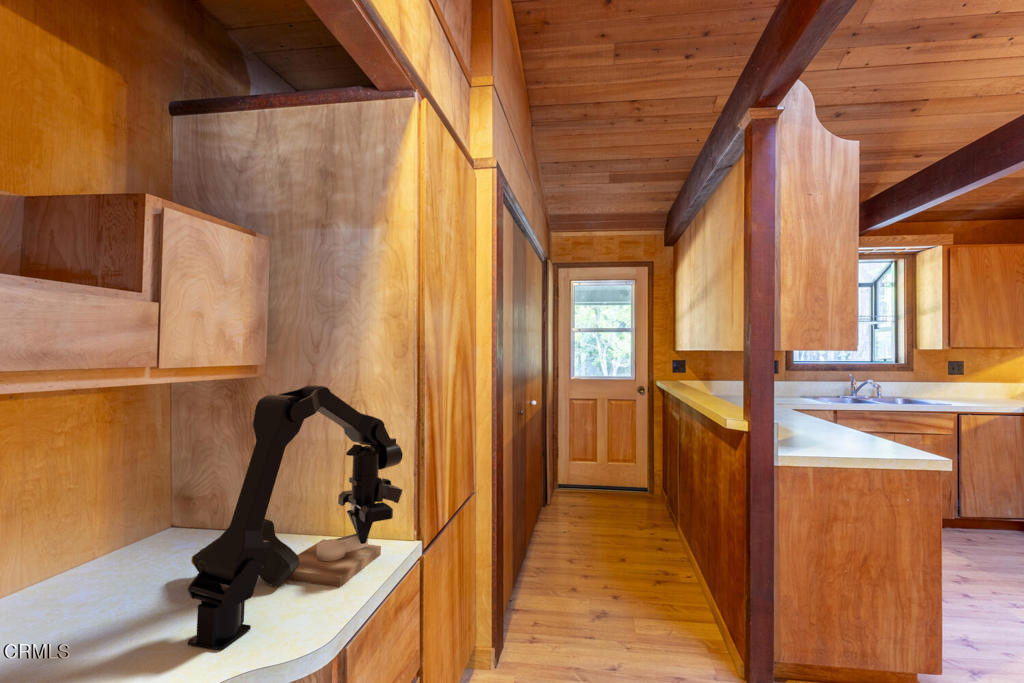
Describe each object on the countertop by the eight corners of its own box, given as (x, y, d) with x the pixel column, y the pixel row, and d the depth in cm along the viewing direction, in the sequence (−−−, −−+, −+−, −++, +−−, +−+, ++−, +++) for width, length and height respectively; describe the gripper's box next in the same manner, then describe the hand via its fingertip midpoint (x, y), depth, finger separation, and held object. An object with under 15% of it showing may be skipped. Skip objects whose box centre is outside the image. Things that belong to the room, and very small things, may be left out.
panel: (340, 587, 98) (341, 576, 98) (274, 578, 101) (274, 568, 101) (381, 554, 115) (381, 545, 115) (323, 547, 118) (323, 538, 118)
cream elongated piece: (324, 563, 104) (325, 548, 104) (311, 555, 108) (312, 540, 108) (372, 548, 112) (373, 534, 112) (359, 541, 116) (359, 528, 116)
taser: (294, 575, 96) (254, 510, 98) (225, 622, 98) (186, 558, 99) (305, 566, 101) (267, 504, 102) (239, 611, 102) (202, 549, 103)
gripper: (415, 476, 110) (414, 548, 109) (383, 463, 125) (381, 526, 124) (367, 483, 103) (364, 559, 102) (338, 467, 118) (336, 534, 117)
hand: (363, 543), depth 111 cm, fingers closed
